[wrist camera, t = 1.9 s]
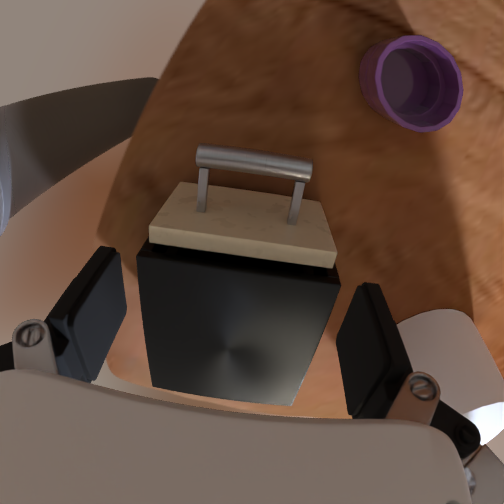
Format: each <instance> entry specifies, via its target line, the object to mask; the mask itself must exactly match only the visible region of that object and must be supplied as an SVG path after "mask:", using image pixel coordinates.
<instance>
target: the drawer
mask: <svg viewBox="0 0 504 504" xmlns="http://www.w3.org/2000/svg"><path fill="white" fill-rule="evenodd" d="M196 166H198V167H200V168H199V180H198V184H196V183H187V182H180V183H179V184H178V186H177V187H176V188H175V190H174V191H173V192H172V194H171V195H170V197H169V198H168V199H167V201H166V202H165V203H164V205H163V206H162V208H161V209H160V211H159V212H158V213H157V215H156V216H155V218H154V219H153V220H152V222H151V223H150V225H149V242H150V243H156V244H163V245H169V246H168V248H167V250H166V252H165V254H171V255H178V256H185V257H192V258H198V259H205V260H212V261H219V262H226V263H233V264H240V265H247V266H254V267H261V268H268V269H276V270H283V271H290V272H297V273H305V274H312V275H314V269H313V266H318V267H325V268H333V265H334V262H335V259H336V256H337V250H336V247H335V244H334V240H333V237H332V234H331V231H330V228H329V226H328V223H327V220H326V217H325V214H324V211H323V208H322V205H321V203H320V202H319V201H313V200H307V199H302V196H303V191H304V187H305V182H309V181H310V179H311V175H312V170H313V160H312V159H310V158H304V157H299V156H293V155H287V154H281V153H275V152H268V151H261V150H255V149H247V148H240V147H232V146H224V145H216V144H207V143H199V145H198V148H197V152H196ZM210 168H214V169H222V170H230V171H237V172H245V173H252V174H259V175H265V176H272V177H278V178H285V179H291V180H295V183H294V188H293V193H292V197H289V196H282V195H276V194H269V193H263V192H256V191H249V190H242V189H235V188H227V187H220V186H212V185H209V174H210Z"/></svg>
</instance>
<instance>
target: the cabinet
mask: <svg viewBox="0 0 504 504" xmlns="http://www.w3.org/2000/svg"><path fill="white" fill-rule="evenodd" d="M168 246H169V245H163V244H156V243H150V242H149V237H148V238H147V240H146V241H145V243H144V245H143V246H142V248H141V250H140V251H139V253H138V254H137V256H136V260H137V272H138V284H139V294H140V303H141V312H142V320H143V328H144V336H145V343H146V350H147V356H148V363H149V369H150V375H151V381H152V386H153V387H157V388H162V389H167V390H172V391H177V392H183V393H188V394H194V395H200V396H206V397H213V398H220V399H227V400H235V401H243V402H252V403H261V404H272V405H284V406H291V405H292V403H293V401H294V399H295V397H296V395H297V392H298V390H299V388H300V386H301V384H302V381H303V379H304V377H305V375H306V372H307V370H308V368H309V365H310V363H311V361H312V358H313V356H314V354H315V351H316V349H317V346H318V344H319V342H320V339H321V337H322V334H323V332H324V329H325V327H326V324H327V322H328V319H329V317H330V314H331V311H332V309H333V306H334V304H335V301H336V298H337V296H338V293H339V290H340V287H341V283H340V279H339V275H338V272H337V268H336V265H335V262H334V265H333V268H325V267H318V266H313V269H314V275H312V274H305V273H297V272H290V271H283V270H276V269H268V268H261V267H254V266H247V265H240V264H233V263H226V262H219V261H212V260H205V259H198V258H192V257H185V256H178V255H171V254H165V252H166V250H167V248H168Z"/></svg>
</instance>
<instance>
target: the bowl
mask: <svg viewBox="0 0 504 504" xmlns="http://www.w3.org/2000/svg"><path fill="white" fill-rule="evenodd" d="M359 82H360V87H361V92H362V94H363V96H364V97H365V99H366V101H367V102H368V104H369V105H370V107H371V108H372V109H373V110H374V111H376V112H377V113H378V114H380V115H381V116H382V117H383V118H385V119H388V120H390V121H392V122H394V123H396V124H398V125H400V126H402V127H404V128H407V129H411V130H414V131H417V132H430V131H436V130H439V129H440V128H442V127H444V126H445V125H447V124H448V123H450V122H451V121H452V119H453V118H454V116H455V115H456V113H457V112H458V110H459V108H460V105H461V100H462V96H463V84H462V77H461V72H460V70H459V68H458V66H457V64H456V62H455V60H454V58H453V56H452V55H451V54H450V53H449V52H448V51H447V50H446V49H445V48H444V47H443V46H442V45H441V44H439V43H438V42H436V41H434V40H432V39H429V38H427V37H424V36H421V35H404V36H399V37H394V38H390V39H385V40H382V41H381V42H379V43H377V44H375V45H373V46H371V47H370V48H369V50H368V51H367V52H366V54H365V55H364V57H363V58H362V60H361V64H360V70H359Z"/></svg>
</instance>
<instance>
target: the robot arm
mask: <svg viewBox="0 0 504 504" xmlns="http://www.w3.org/2000/svg"><path fill="white" fill-rule="evenodd" d="M126 311H127V305H126V298H125V291H124V283H123V276H122V267H121V258H120V253H119V252H116V249H115V248H112V247H105V246H100V247H99V248H98V249H97V250H96V252H95V253H94V254H93V256H92V257H91V258H90V260H89V261H88V262H87V263H86V265H85V266H84V267H83V269H82V270H81V271H80V273H79V274H78V275H77V277H75V278H74V279H73V281H72V282H71V283H70V285H69V286H68V288H67V289H66V290H65V292H64V293H63V294H62V296H61V297H60V299H59V300H58V302H57V303H56V304H55V306H54V307H53V309H52V310H51V312H50V313H49V315H48V316H47V318H46V319H45V321H44V322H43V321H41V320H37V319H31V320H27V321H24V322H22V323H21V324H20V325H18V327H17V328H16V329H15V331H14V332H13V335H12V342H9V343H7V344H4V345H1V346H0V504H503V502H504V464H503V463H502V462H501V461H500V460H499V458H498V457H497V456H496V455H495V454H494V453H493V452H492V451H491V450H490V449H489V447H488V446H487V445H486V444H484V445H483V446H482V445H481V444H480V442H481V435H480V432H479V429H478V428H477V426H476V425H475V424H474V423H473V422H471V421H470V420H468V419H467V418H466V417H464V416H463V415H461V414H460V413H458V412H457V411H456V410H454V409H453V408H451V407H450V406H448V405H447V404H446V403H444V402H443V401H441V400H440V395H441V390H440V386H439V384H438V382H437V381H436V380H435V379H434V378H433V377H432V376H431V375H429V374H427V373H425V372H420V371H416V372H414V371H413V368H412V366H411V363H410V360H409V357H408V354H407V352H406V349H405V346H404V343H403V341H402V338H401V335H400V333H399V330H398V328H397V325H396V323H395V321H394V320H393V318H392V315H391V313H390V310H389V308H388V305H387V303H386V300H385V298H384V295H383V293H382V291H381V288H380V286H379V284H375V283H367V282H364V283H363V284H362V285H361V286H360V285H359V286H358V287H357V289H356V291H355V294H354V296H353V299H352V301H351V303H350V306H349V308H348V311H347V313H346V316H345V318H344V320H343V323H342V325H341V327H340V330H339V332H338V334H337V338H336V346H337V351H338V357H339V362H340V368H341V374H342V380H343V386H344V392H345V398H346V404H347V411H348V414H349V415H352V418H353V419H329V418H300V417H283V416H269V415H258V414H248V413H238V412H230V411H223V410H216V409H209V408H202V407H196V406H189V405H184V404H178V403H173V402H167V401H162V400H157V399H152V398H148V397H143V396H138V395H134V394H130V393H126V392H121V391H118V390H114V389H110V388H106V387H102V386H98V385H94V384H90V383H91V381H92V380H93V381H94V380H96V378H97V376H98V374H99V372H100V369H101V367H102V365H103V363H104V360H105V358H106V356H107V354H108V351H109V349H110V347H111V345H112V343H113V340H114V338H115V336H116V334H117V332H118V330H119V328H120V325H121V323H122V321H123V319H124V317H125V315H126Z"/></svg>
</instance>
